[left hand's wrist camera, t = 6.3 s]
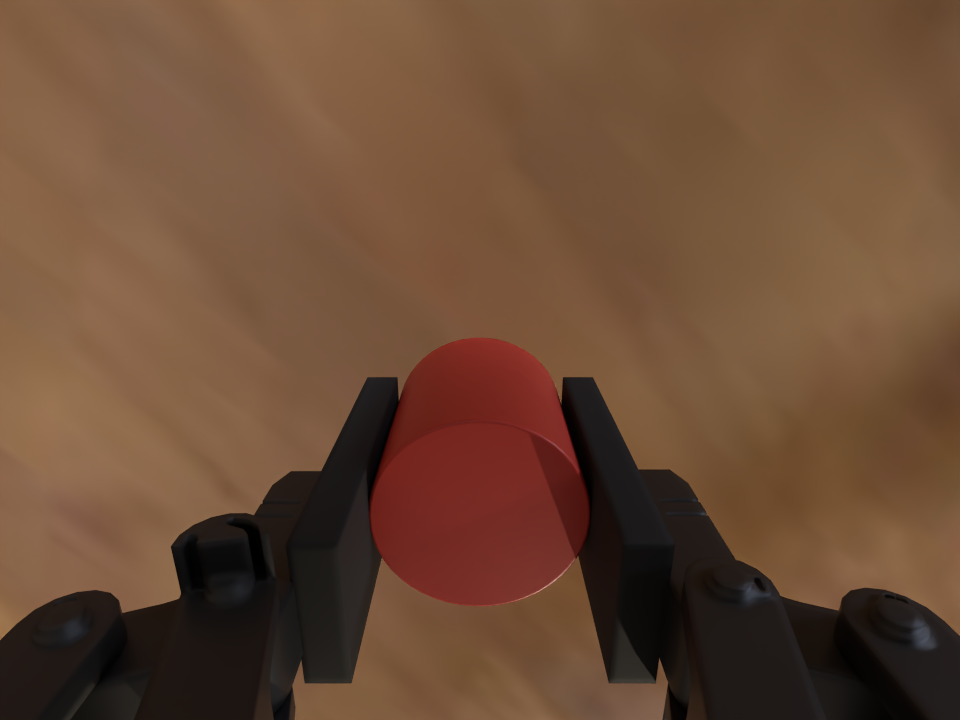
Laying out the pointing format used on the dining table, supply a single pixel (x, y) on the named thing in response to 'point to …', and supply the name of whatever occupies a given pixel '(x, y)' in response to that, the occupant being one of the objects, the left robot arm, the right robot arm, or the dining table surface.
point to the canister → (479, 478)
